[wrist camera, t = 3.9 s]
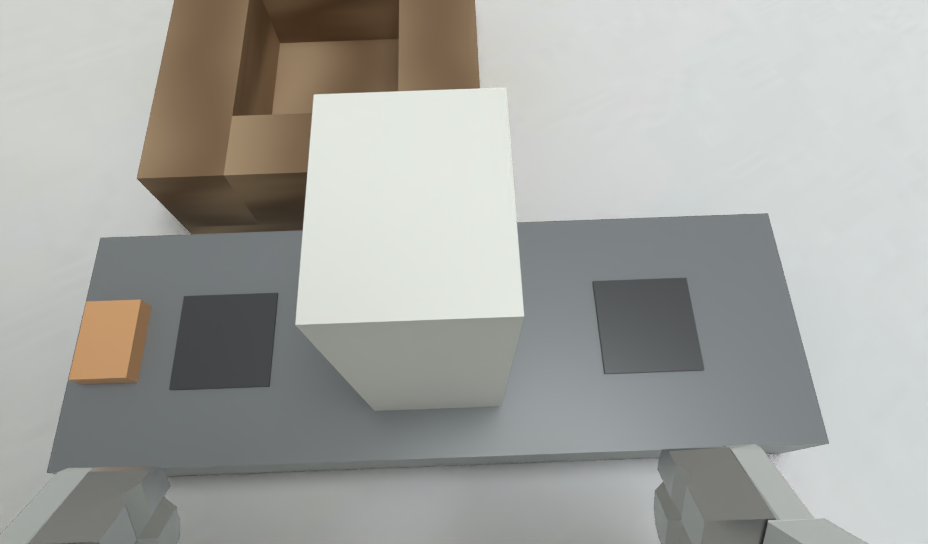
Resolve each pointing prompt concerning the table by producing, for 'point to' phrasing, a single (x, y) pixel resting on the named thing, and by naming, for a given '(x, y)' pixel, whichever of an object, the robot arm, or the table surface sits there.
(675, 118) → the table surface
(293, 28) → the square wooden tray
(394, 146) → the white rectangular block
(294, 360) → the power strip
